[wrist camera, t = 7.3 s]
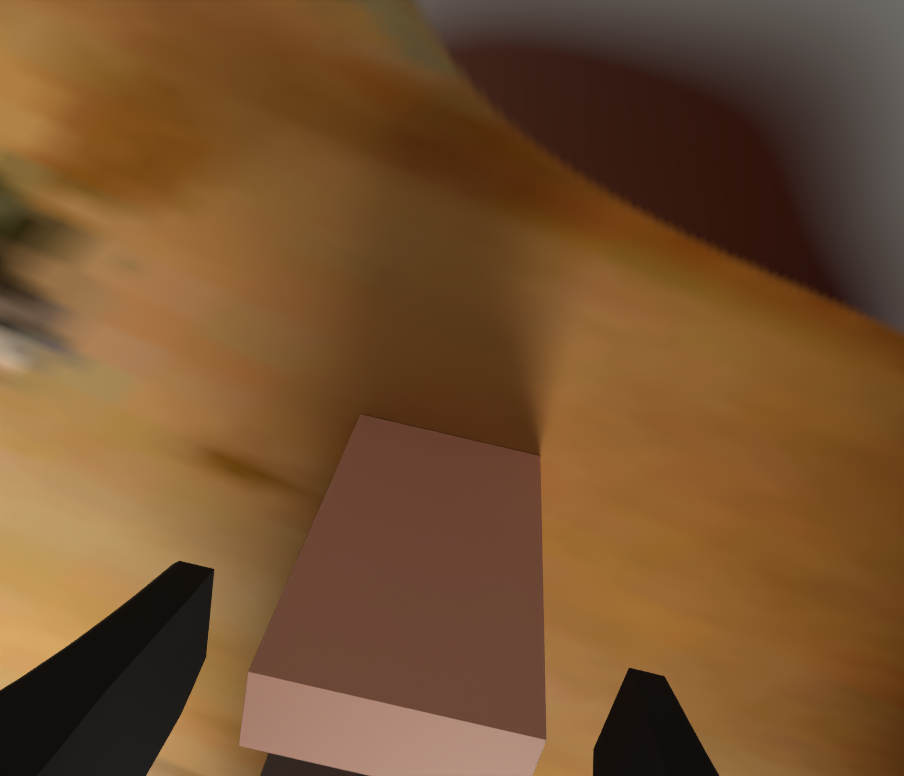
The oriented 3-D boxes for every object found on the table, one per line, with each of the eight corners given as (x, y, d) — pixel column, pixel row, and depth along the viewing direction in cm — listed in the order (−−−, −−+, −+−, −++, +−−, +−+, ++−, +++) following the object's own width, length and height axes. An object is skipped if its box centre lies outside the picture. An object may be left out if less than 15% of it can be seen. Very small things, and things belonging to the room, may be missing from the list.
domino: (540, 455, 18) (546, 740, 11) (523, 509, 19) (519, 809, 12) (360, 414, 18) (247, 671, 11) (350, 469, 19) (238, 745, 12)
